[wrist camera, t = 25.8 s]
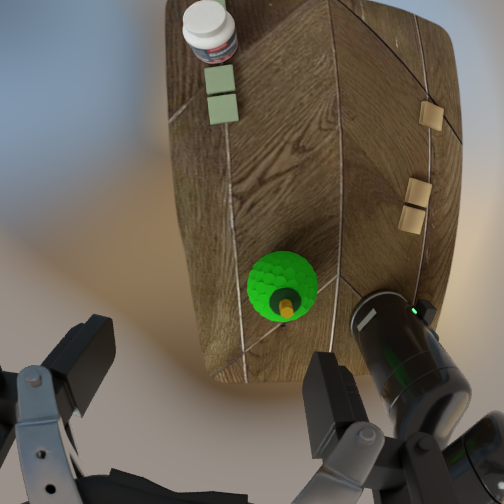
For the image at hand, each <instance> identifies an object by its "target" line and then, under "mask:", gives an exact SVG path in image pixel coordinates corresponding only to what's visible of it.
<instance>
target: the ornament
mask: <svg viewBox="0 0 504 504" xmlns="http://www.w3.org/2000/svg"><path fill="white" fill-rule="evenodd" d="M247 285H248V288H247V293H248V295H249V300H250V302H251V303H252V304H253V307H254V309H255V310H256V311H258V312H259V313H260V314H261V315H262V316H264V317H266V318H268V319H269V320H271V321H279V322H287V321H290V320H295V319H298V318H299V317H300V316H302V315H304V314H305V313H307V312H308V310H309V309H310V307H312V305H313V304H314V302H315V298H316V296H317V288H318V281H317V276H316V273H315V272H314V270H313V268H312V266H311V265H310V264H309V263H308V261H307V260H306V259H305V258H303V257H301V256H300V255H298V254H296V253H293V252H290V251H277V252H273V253H269V254H267V255H266V256H264V257H262V258H261V259H260V260H259V261H258V262H256V263H255V264H254V266H253V270H250V273H249V279H248V281H247Z"/></svg>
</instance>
